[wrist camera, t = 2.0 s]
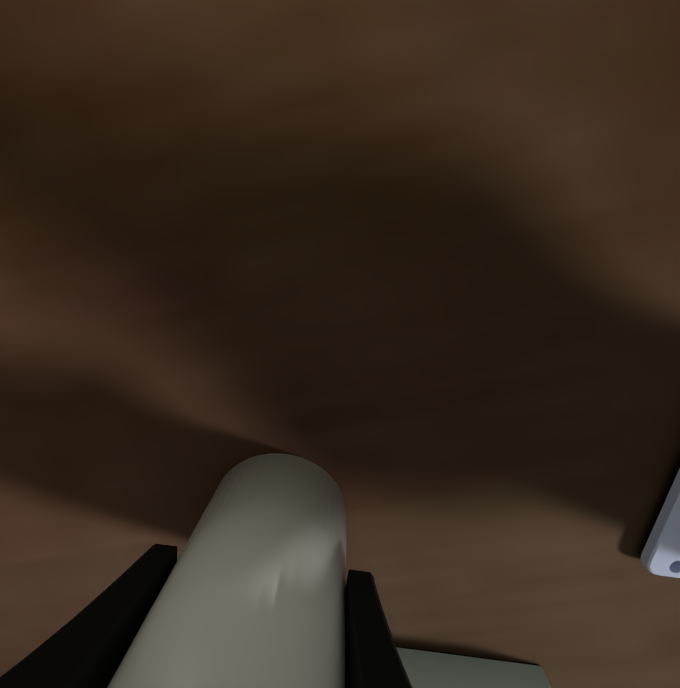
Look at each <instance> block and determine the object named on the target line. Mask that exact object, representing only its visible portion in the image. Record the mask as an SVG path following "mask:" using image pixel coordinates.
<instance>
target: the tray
mask: <svg viewBox="0 0 680 688" xmlns="http://www.w3.org/2000/svg"><path fill="white" fill-rule="evenodd" d="M396 648H397V651H398V653H399V656H400V658H401V661H402V663H403V666H404V668H405V671H406V673H407V676H408V678H409V680H410V683H411V685H412V687H413V688H551V686H550V684H549V682H548V680H547V678H546V675H545V673H544V671H543V669H542V667H541V666H536V665H529V664H521V663H513V662H506V661H498V660H490V659H482V658H475V657H467V656H459V655H452V654H444V653H436V652H429V651H421V650H413V649H406V648H398V647H396Z"/></svg>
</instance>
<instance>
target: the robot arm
mask: <svg viewBox="0 0 680 688" xmlns="http://www.w3.org/2000/svg"><path fill="white" fill-rule="evenodd" d="M176 562H177V547H176V546H169V545H161V544H155V545H153V546H152V547H151V548H150V549H149V550H148V551H147V552H146V553H144V554H143V555H142V556H141V557H140V558H139V559H138V560H137V561H136V562H135V563H134V564H133V565H132V566H131V567H130V568H129V569H127V570H126V571H125V572H124V573H123V574H122V575H121V576H120V577H119V578H118V579H117V580H116V581H114V582H113V583H112V584H111V585H110V586H109V587H108V588H107V589H106V590H105V591H103V592H102V593H101V594H100V595H99V596H98V597H97V598H96V599H94V600H93V601H92V602H91V603H90V604H89V605H88V606H87V607H85V608H84V609H83V610H82V611H81V612H80V613H79V614H77V615H76V616H75V617H74V618H73V619H72V620H70V621H69V622H68V623H67V624H66V625H65V626H63V627H62V628H61V629H60V630H58V631H57V632H56V633H55V634H54V635H52V636H51V637H50V638H49V639H48V640H46V641H45V642H44V643H43V644H41V645H40V646H39V647H38V648H37V649H35V650H34V651H33V652H32V653H31V654H29V655H28V656H27V657H26V658H24V659H23V660H22V661H20V662H19V663H18V664H17V665H15V666H14V667H13V668H11V669H10V670H9V671H8V672H6V673H5V674H4V675H2V676H1V677H0V688H107V687H108V685H109V684H110V682H111V680H112V678H113V676H114V674H115V673H116V671H117V669H118V667H119V665H120V664H121V662H122V660H123V658H124V656H125V655H126V653H127V651H128V649H129V647H130V645H131V644H132V642H133V640H134V638H135V636H136V635H137V633H138V631H139V629H140V627H141V625H142V624H143V622H144V620H145V618H146V616H147V615H148V613H149V611H150V609H151V607H152V605H153V604H154V602H155V600H156V598H157V596H158V595H159V593H160V591H161V589H162V587H163V586H164V584H165V582H166V580H167V578H168V576H169V575H170V573H171V571H172V569H173V567H174V566H175V564H176ZM641 562H642V564H643V565H644V566H645V567H646V568H647V569H648V570H649V571H650V572H651V573H652V574H656V575H661V576H669V577H676V578H680V468H679V471H678V473H677V475H676V477H675V480H674V482H673V484H672V486H671V489H670V491H669V493H668V495H667V498H666V500H665V502H664V504H663V507H662V509H661V511H660V513H659V516H658V518H657V520H656V522H655V525H654V527H653V529H652V531H651V534H650V536H649V538H648V540H647V543H646V545H645V547H644V549H643V551H642V554H641ZM345 688H413V687H412V685H411V683H410V680H409V678H408V676H407V673H406V671H405V668H404V666H403V663H402V661H401V658H400V656H399V653H398V651H397V648H396V645H395V643H394V640H393V638H392V635H391V632H390V629H389V627H388V624H387V621H386V618H385V615H384V612H383V609H382V606H381V603H380V599H379V596H378V593H377V589H376V585H375V581H374V577H373V575H372V574H371V573H370V572H364V571H356V570H349V572H348V577H347V583H346V597H345Z"/></svg>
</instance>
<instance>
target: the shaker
mask: <svg viewBox="0 0 680 688" xmlns="http://www.w3.org/2000/svg"><path fill="white" fill-rule="evenodd" d="M345 597H346V505H345V500H344V497H343V494H342V492H341V490H340V488H339V486H338V485H337V483H336V482H335V481H334V479H333V478H332V477H331V476H330V475H329V474H328V473H327V472H326V471H325V470H323V469H322V468H321V467H320V466H318V465H316V464H315V463H313V462H311V461H309V460H307V459H304V458H301V457H298V456H295V455H290V454H281V453H270V454H263V455H258V456H254V457H251V458H249V459H246V460H244V461H242V462H241V463H239V464H237V465H236V466H235V467H233V468H232V469H231V470H230V471H229V472H228V473H227V474H226V475H225V476H224V478H223V479H222V481H221V482H220V484H219V486H218V487H217V489H216V491H215V493H214V495H213V497H212V498H211V500H210V502H209V504H208V506H207V507H206V509H205V511H204V513H203V515H202V517H201V518H200V520H199V522H198V524H197V526H196V527H195V529H194V531H193V533H192V535H191V536H190V538H189V540H188V542H187V544H186V546H185V547H184V549H183V551H182V553H181V555H180V556H179V558H178V560H177V562H176V564H175V566H174V567H173V569H172V571H171V573H170V575H169V576H168V578H167V580H166V582H165V584H164V586H163V587H162V589H161V591H160V593H159V595H158V596H157V598H156V600H155V602H154V604H153V605H152V607H151V609H150V611H149V613H148V615H147V616H146V618H145V620H144V622H143V624H142V625H141V627H140V629H139V631H138V633H137V635H136V636H135V638H134V640H133V642H132V644H131V645H130V647H129V649H128V651H127V653H126V655H125V656H124V658H123V660H122V662H121V664H120V665H119V667H118V669H117V671H116V673H115V674H114V676H113V678H112V680H111V682H110V684H109V685H108V687H107V688H345Z"/></svg>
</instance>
